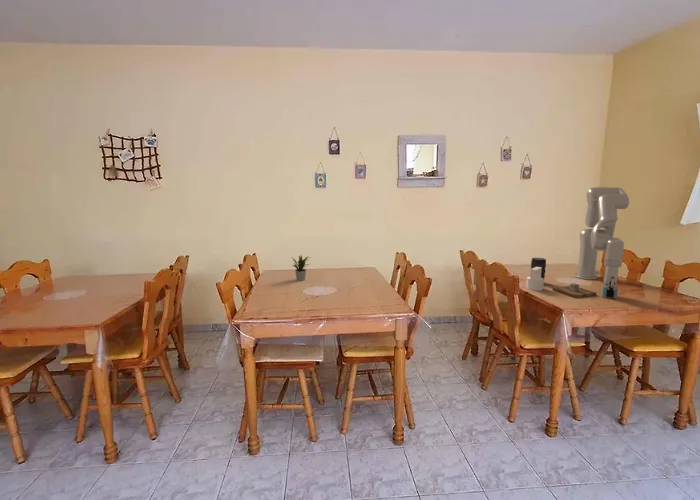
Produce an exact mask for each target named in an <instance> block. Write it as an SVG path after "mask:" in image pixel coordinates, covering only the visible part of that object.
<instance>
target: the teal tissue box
mask: <svg viewBox="0 0 700 500" xmlns="http://www.w3.org/2000/svg"><path fill="white" fill-rule="evenodd" d="M609 286H610V285H609ZM607 289H608V285H606V284H602V285H601V292H600V295H602V296H601V297H602V298H605V299H612V297H606V293H607ZM618 292H619V288H618V286H616V285H614V297H613V298H616V299H615V300H617V299H618Z"/></svg>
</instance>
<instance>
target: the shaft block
mask: <svg viewBox="0 0 700 500" xmlns="http://www.w3.org/2000/svg"><path fill="white" fill-rule="evenodd" d="M552 291H553V292H556V293H559V294H563V295H565V296H568V297H571V298H573V299H579V298H585V297H586V298H587V297H595V296H597V292H595V291H592V290H589V289H585V288H583V287H580V284H579V283H575V282H574V283H573V282H572V283H570V285H566V286H558V287H557V286H555V287H552Z"/></svg>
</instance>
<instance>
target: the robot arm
mask: <svg viewBox="0 0 700 500" xmlns="http://www.w3.org/2000/svg"><path fill="white" fill-rule="evenodd" d="M586 201H587V209H586V215H585V223H584V224H585V226H586V227H588V228H584V229H582V230H581V231H580V232H579V244H580V245H579V253H578V254H579V255H578V264H577V273H576V272H575V273H574V276H573V277H575V278H578V279H582V280H590V281H591V280H597V279H598V276H597V275H599V274H601V272H600V270H596V266H597V258H598V252H599V251H600V252H601V251H602V252H605V256H604V266H605V269H604V275H603V280H602V281H603V282H604V285H608V289H607V293H606V297H612V298H613V297H614V286H616V285H617V283H618V276H619V275H618V274H619V268H621V267H622V264H623V255H624V249H625V248H624V247H625V242H624V241H623V240H621V238H619V237H614V234H615V230H616V225H617V221H618V210H626V209H627V208H629V205H630V199H629V195H628V194H627V193H626V191H625V190H624V189H623V188H621V187H611V186H609V187H607V186H606V187H605V186H603V187H601V186H599V187H598V186H597V187H596V186H595V187H591V188H589V189H587V192H586ZM609 285H610V286H609ZM612 298H611V299H612Z"/></svg>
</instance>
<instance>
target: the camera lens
mask: <svg viewBox="0 0 700 500" xmlns="http://www.w3.org/2000/svg"><path fill="white" fill-rule="evenodd" d="M546 260H547V259H546V258H544V257H531V259H530V261H531V262H530V270H531V269H532V268H535V267H542V270H541V278H543V279H544V280H545V277H546V267H547V261H546ZM529 274H531V272H530V273H529Z"/></svg>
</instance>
